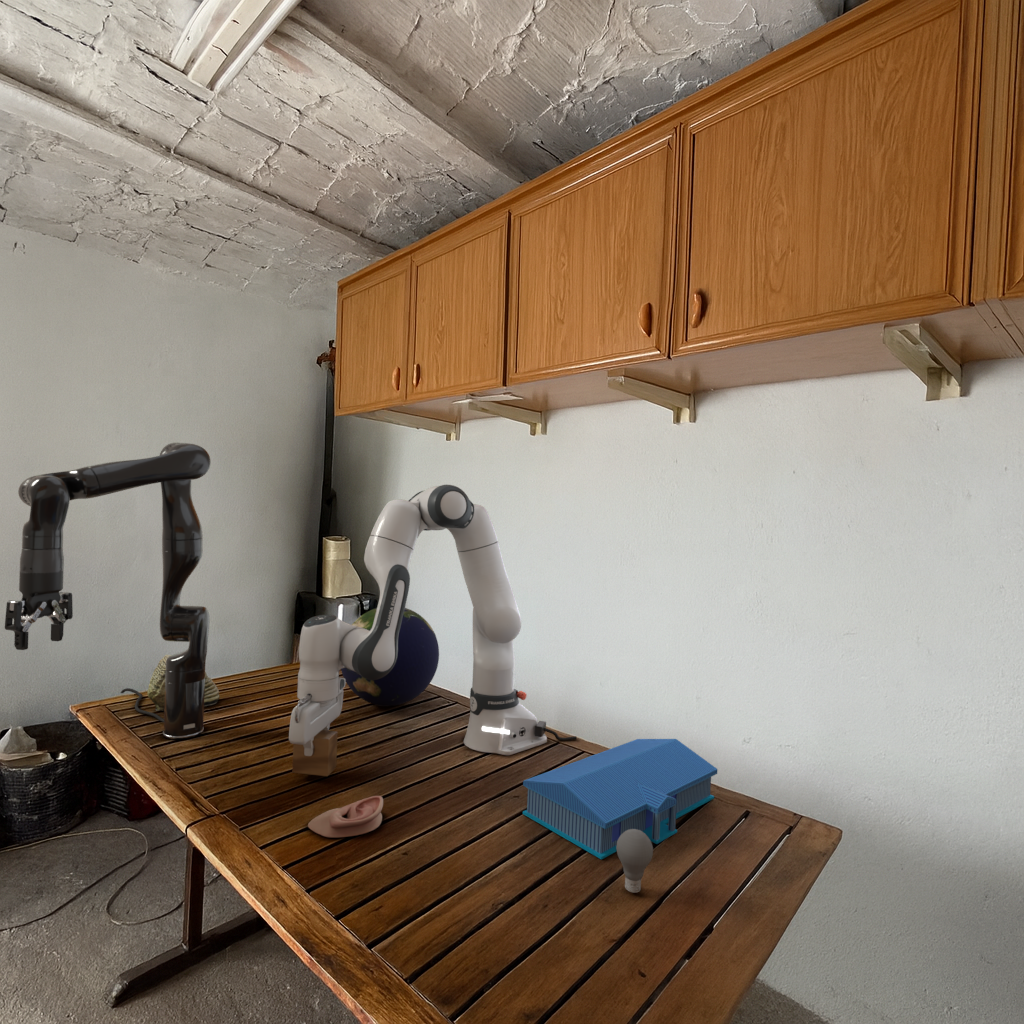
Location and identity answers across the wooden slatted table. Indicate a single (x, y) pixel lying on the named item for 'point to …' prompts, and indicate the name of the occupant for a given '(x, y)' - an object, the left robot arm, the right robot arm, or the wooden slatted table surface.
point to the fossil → (158, 687)
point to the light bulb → (634, 857)
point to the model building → (621, 793)
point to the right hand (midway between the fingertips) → (315, 749)
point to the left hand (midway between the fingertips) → (39, 645)
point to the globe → (400, 663)
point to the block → (317, 755)
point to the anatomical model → (349, 819)
